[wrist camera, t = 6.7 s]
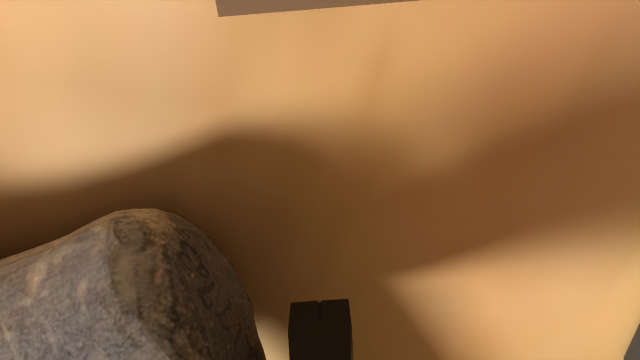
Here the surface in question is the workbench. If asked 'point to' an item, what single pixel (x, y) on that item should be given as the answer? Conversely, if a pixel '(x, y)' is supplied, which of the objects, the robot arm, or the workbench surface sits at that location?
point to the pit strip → (634, 347)
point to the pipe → (126, 295)
